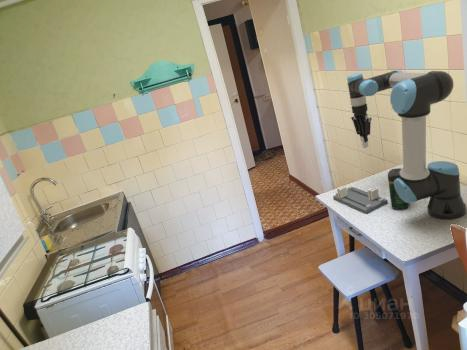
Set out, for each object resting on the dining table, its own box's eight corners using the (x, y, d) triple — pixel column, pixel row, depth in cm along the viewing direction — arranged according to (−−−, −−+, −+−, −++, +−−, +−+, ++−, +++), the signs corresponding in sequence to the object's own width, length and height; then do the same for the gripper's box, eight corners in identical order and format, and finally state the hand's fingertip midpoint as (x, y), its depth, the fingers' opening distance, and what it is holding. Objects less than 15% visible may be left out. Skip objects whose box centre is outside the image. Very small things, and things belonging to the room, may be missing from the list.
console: (388, 203, 189) (387, 197, 187) (366, 214, 185) (365, 208, 184) (353, 190, 212) (352, 185, 211) (333, 199, 208) (332, 194, 207)
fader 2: (379, 197, 192) (377, 188, 190) (372, 200, 191) (371, 191, 189) (374, 195, 194) (373, 187, 193) (368, 198, 193) (367, 189, 192)
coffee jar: (409, 209, 178) (405, 174, 172) (391, 210, 181) (386, 175, 175) (408, 200, 186) (404, 166, 180) (391, 201, 189) (387, 167, 183)
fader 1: (347, 195, 203) (346, 187, 201) (341, 198, 202) (340, 189, 200) (344, 193, 206) (342, 185, 204) (338, 196, 204) (336, 188, 203)
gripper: (373, 102, 188) (379, 146, 196) (356, 101, 200) (362, 143, 207) (362, 107, 186) (368, 151, 194) (344, 106, 197) (351, 147, 205)
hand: (365, 147), depth 200 cm, fingers closed
